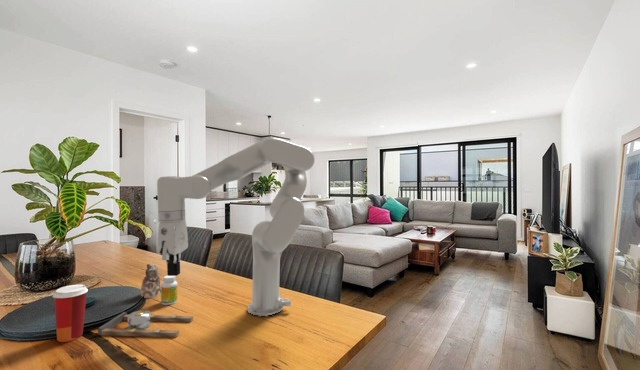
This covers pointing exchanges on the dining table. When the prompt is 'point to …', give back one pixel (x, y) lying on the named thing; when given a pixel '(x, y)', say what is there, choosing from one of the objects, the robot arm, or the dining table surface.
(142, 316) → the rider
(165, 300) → the supplement bottle
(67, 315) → the paper cup
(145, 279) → the figurine
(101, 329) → the beam track
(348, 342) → the dining table surface
